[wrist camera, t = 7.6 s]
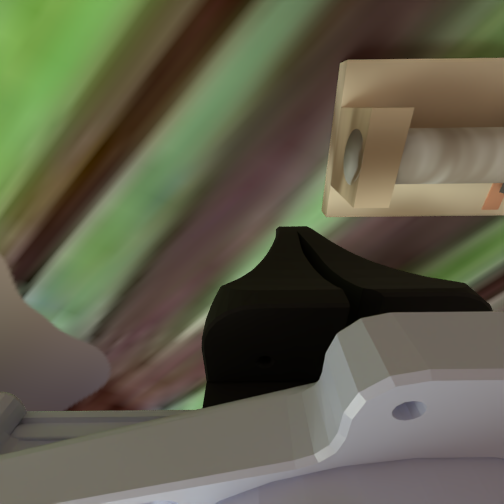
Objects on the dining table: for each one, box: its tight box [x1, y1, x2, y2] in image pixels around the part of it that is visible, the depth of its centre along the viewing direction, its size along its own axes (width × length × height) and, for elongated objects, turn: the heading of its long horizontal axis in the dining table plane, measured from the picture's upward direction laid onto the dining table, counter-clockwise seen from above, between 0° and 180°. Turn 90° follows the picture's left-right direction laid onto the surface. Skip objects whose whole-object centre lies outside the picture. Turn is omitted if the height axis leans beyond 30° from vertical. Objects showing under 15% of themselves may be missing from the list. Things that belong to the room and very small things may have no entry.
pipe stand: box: [322, 58, 504, 217], centre depth 16 cm, size 10×18×7 cm, turn 91°
